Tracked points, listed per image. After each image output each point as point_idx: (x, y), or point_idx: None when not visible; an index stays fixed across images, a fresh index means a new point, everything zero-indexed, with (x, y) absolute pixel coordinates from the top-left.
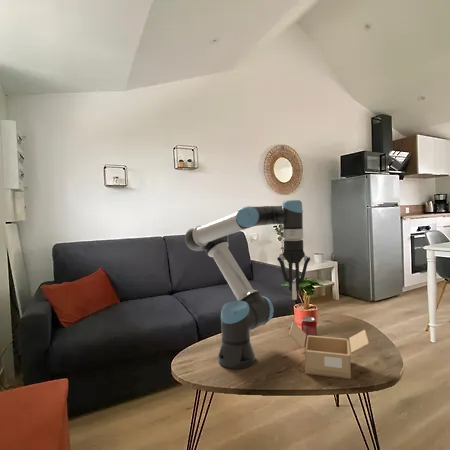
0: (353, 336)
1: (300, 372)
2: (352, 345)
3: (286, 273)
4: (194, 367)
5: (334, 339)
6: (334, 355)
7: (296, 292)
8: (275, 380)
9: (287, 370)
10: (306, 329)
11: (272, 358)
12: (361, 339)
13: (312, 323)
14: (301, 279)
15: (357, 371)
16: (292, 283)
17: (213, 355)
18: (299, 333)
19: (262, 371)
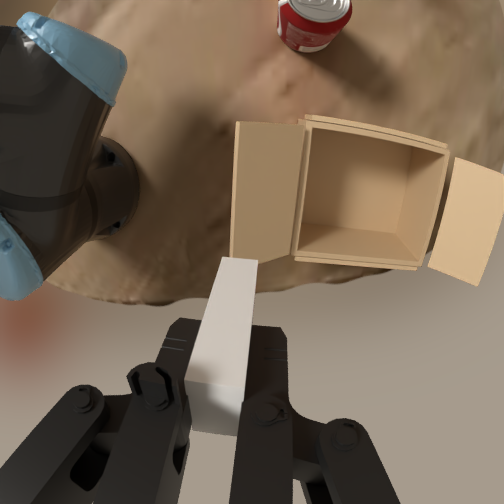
0: (470, 168)
1: None
2: (446, 229)
3: (71, 488)
4: None
5: (408, 144)
6: (379, 266)
7: (252, 318)
8: (212, 265)
9: None
10: (303, 35)
11: (185, 150)
12: (478, 233)
13: (335, 24)
14: (313, 482)
15: None
16: (199, 430)
17: None
18: (274, 178)
19: (172, 230)
